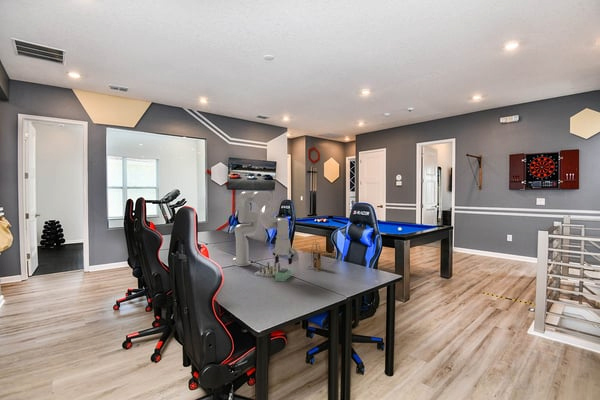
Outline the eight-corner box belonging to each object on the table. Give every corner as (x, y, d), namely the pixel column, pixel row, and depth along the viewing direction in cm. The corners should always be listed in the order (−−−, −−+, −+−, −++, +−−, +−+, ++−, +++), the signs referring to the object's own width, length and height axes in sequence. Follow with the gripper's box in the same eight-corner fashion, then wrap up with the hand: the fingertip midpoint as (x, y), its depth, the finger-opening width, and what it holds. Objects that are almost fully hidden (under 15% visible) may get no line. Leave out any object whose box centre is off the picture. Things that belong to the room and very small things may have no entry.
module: (283, 281, 184) (283, 272, 184) (275, 280, 186) (275, 271, 186) (290, 276, 195) (290, 267, 195) (282, 275, 197) (282, 267, 197)
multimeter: (302, 267, 216) (301, 241, 216) (313, 266, 221) (313, 240, 220) (311, 272, 203) (310, 244, 202) (323, 270, 207) (323, 243, 207)
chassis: (271, 277, 193) (271, 268, 193) (254, 274, 199) (254, 266, 199) (284, 270, 209) (284, 262, 209) (268, 268, 215) (268, 260, 215)
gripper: (268, 237, 190) (269, 263, 190) (292, 238, 182) (292, 265, 183) (274, 236, 197) (275, 261, 197) (297, 237, 189) (297, 263, 189)
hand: (283, 263), depth 190 cm, fingers open, 9 cm apart
